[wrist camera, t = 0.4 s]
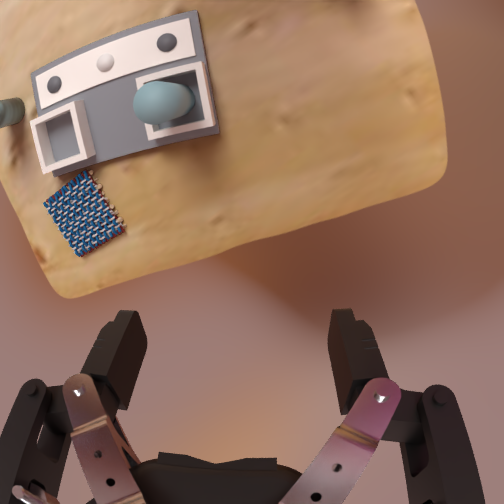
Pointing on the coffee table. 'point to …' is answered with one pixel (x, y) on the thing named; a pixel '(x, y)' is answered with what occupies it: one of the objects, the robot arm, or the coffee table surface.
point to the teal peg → (11, 111)
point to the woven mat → (84, 214)
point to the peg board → (124, 95)
